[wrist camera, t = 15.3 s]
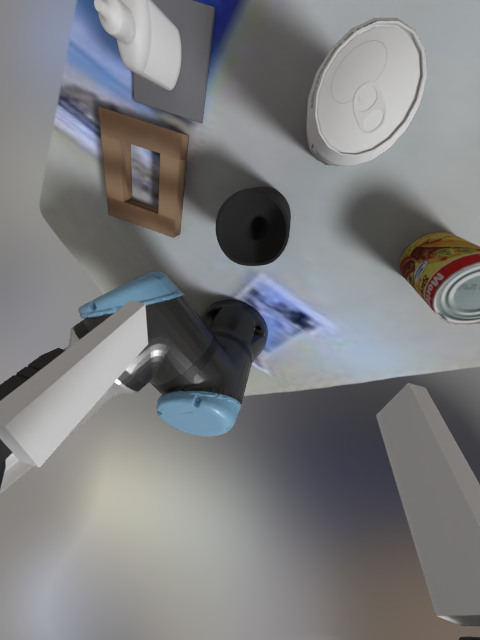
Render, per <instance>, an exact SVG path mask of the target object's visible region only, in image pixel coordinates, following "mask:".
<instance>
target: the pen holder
mask: <svg viewBox="0 0 480 640" xmlns="http://www.w3.org/2000/svg"><path fill="white" fill-rule="evenodd" d="M290 220H291V215H290V208H289V205H288V203H287V200H286V199H285V197H284V196H283V195H282V194H281V193H280V192H278V191H277V190H275V189H273V188H269V187H256V188H250V189H245V190H242V191H239V192H237V193H235V194H234V195H232V196H231V197H229V198H228V199H227V200H226V201H225V203H224V204H223V205H222V207H221V209H220V210H219V213H218V216H217V220H216V236H217V240H218V243H219V245H220V247H221V249H222V251H223V252H224V253H225V255H226V256H227V257H228V258H229V259H230V260H232V261H233V262H235V263H237V264H241V265H246V266H259V265H266V264H269V263H271V262H273V261H275V260H276V259H277V258H278V257H279V256H280V255H281V254H282V252H283V251H284V249H285V247H286V245H287V242H288V238H289V231H290Z"/></svg>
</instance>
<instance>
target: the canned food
mask: <svg viewBox="0 0 480 640" xmlns="http://www.w3.org/2000/svg"><path fill="white" fill-rule="evenodd" d="M399 269H400V272H401V274H402V276H403V277H404V278H405V279H406V280H407V281H408V282H409V284H410V285H411V286H412V287H413V288H414V289H415V290H416V292H417V293H418V294H419V295H420V296H421V297H422V298H423V299H424V301H425V302H426V303H427V304H428V305H429V306H430V307H431V309H432V310H433V311H434V312H435V313H436V314H437V315H438V316H439V318H440V319H442V320H444V321H446V322H447V323H451V324H455V325H467V326H468V325H476V324H480V247H479V246H477V245H475V244H473V243H471V242H468V241H466V240H464V239H462V238H460V237H458V236H456V235H453V234H451V233H446V232H435V233H431V234H428V235H425V236H423V237H421V238H419V239H417V240H416V241H414V242H413V243H411V244H410V245H409V246H408V247H407V249H406V250H405V251H404V253H403V254H402V256H401V259H400V262H399Z"/></svg>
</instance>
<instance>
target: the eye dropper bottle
mask: <svg viewBox="0 0 480 640" xmlns="http://www.w3.org/2000/svg"><path fill="white" fill-rule="evenodd" d="M94 6H95V8H96V10H97V11H98V16H99V19H100V22H101V24H102V26H103V28H104V29H105V31H106V32H107V33H108V34H110V35H111V36H113V37H114V38H116V40H117V45H118V49H119V53H120V56H121V59H122V62H123V64H124V65H125V66H126V67H127V68H128V69H129V70H131V71H132V72H134V73H136V74H138V75H139V76H141V77H143V78H145V79H147V80H149V81H150V82H152V83H154V84H156V85H158V86H160V87H162V88H164V89H166V90H169V91H171V90H172V89H173V88H174V87H175V85H176V82H177V79H178V76H179V72H180V67H181V39H180V33H179V31H178V28H177V27H176V26H175V25H174V24H173V23H172V22H171V21H170V20H169V19H168V18H167V17H166V15H165V14H164V13H163V12H162V11H161V10H160V9H159V8H158V7H157V6H156V5H155V4H154V3H153V2H152V1H151V0H94Z"/></svg>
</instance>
